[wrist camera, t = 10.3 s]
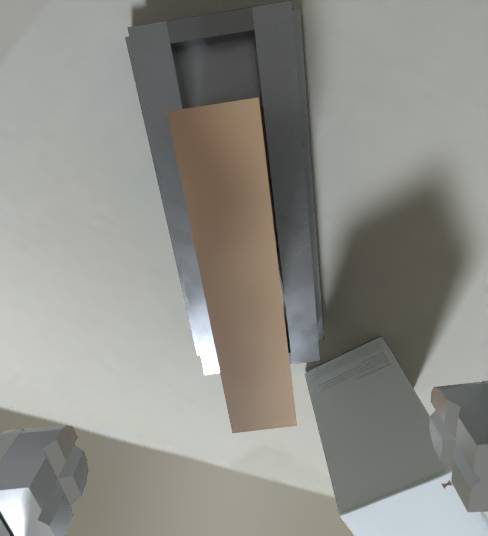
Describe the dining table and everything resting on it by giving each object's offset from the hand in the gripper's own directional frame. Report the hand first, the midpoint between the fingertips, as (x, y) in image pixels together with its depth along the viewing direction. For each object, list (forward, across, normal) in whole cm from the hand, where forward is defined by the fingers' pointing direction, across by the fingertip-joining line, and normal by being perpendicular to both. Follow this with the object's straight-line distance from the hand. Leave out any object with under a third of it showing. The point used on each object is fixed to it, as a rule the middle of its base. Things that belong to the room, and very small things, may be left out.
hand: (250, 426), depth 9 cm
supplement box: (+21, -7, +17) cm, 28 cm away
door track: (+20, +1, 0) cm, 20 cm away
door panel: (+19, 0, 0) cm, 19 cm away
